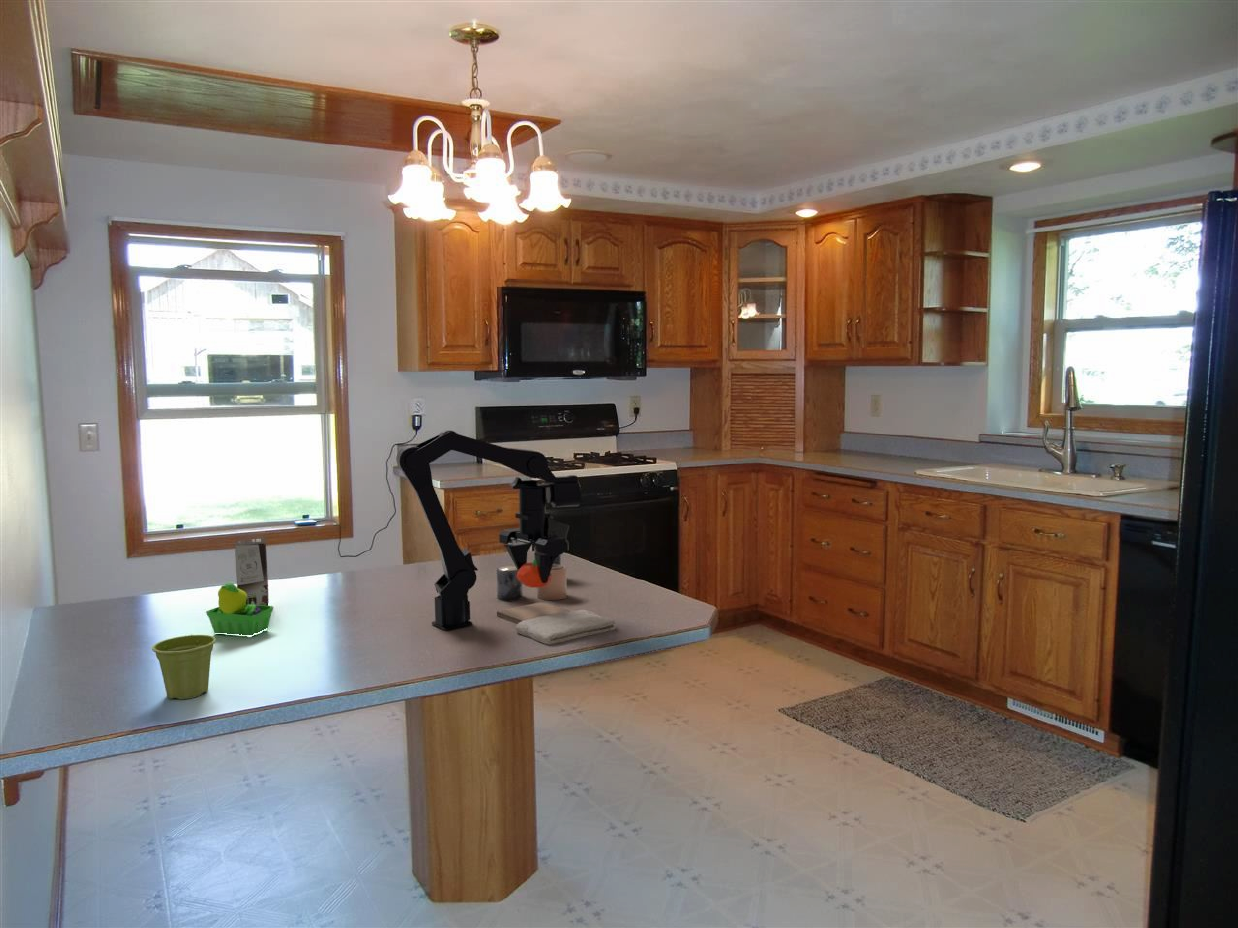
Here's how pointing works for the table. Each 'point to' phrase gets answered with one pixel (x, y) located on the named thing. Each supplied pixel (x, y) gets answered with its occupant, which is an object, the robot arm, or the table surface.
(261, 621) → the fruit basket
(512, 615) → the walnut board
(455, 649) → the table surface
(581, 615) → the washcloth
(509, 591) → the black metal can
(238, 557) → the coffee box
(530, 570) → the pumpkin
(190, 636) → the plant pot
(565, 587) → the terracotta cup
